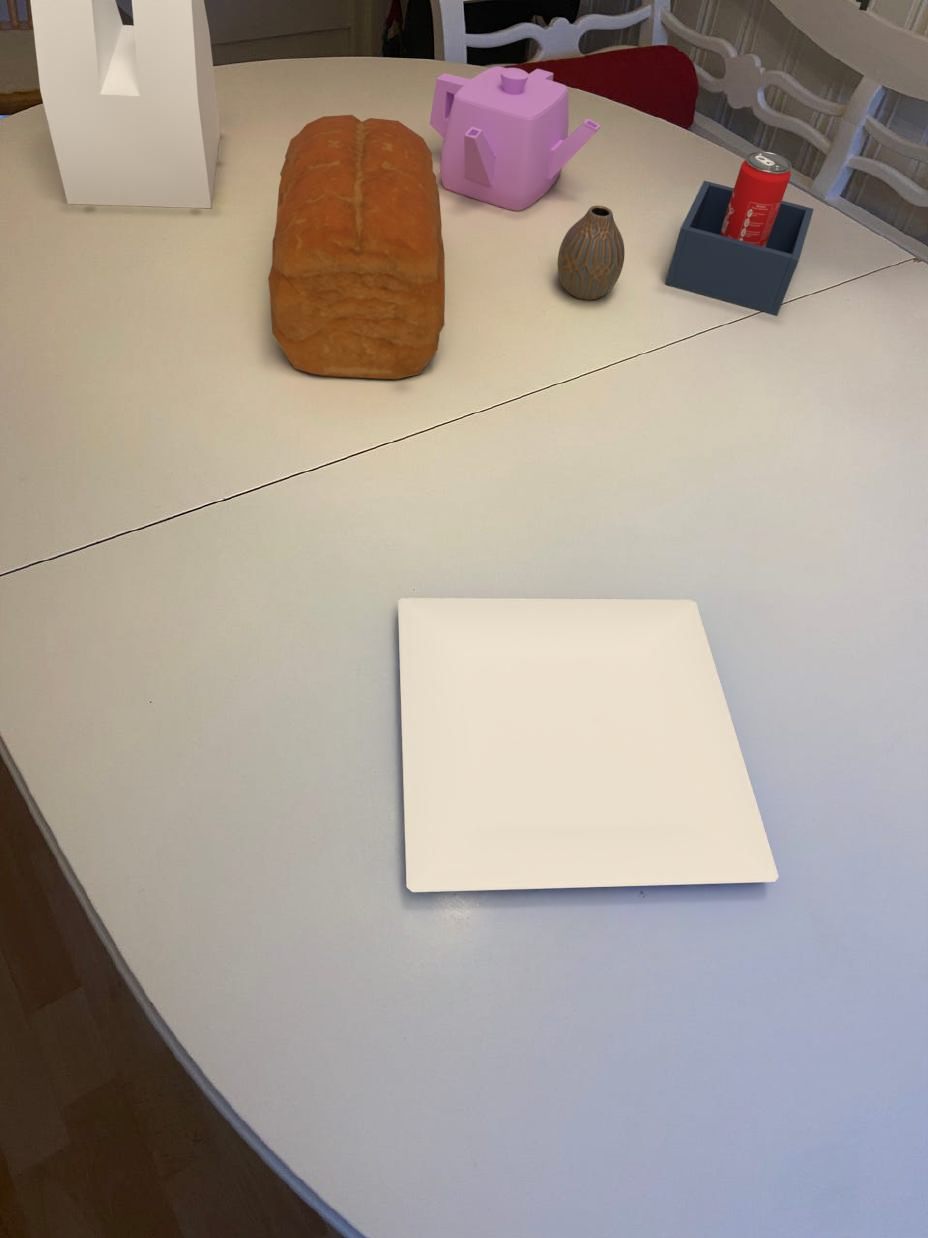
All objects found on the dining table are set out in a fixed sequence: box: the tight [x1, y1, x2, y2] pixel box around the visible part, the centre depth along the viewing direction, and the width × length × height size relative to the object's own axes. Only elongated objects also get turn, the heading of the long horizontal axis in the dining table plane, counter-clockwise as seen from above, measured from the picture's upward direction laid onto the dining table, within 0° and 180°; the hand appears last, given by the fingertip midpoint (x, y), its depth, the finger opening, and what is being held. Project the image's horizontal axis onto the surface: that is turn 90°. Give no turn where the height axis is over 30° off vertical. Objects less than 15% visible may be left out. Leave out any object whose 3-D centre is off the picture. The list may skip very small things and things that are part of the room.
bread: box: [267, 114, 446, 380], centre depth 89 cm, size 16×27×16 cm, turn 3°
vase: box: [556, 205, 626, 301], centre depth 97 cm, size 7×7×9 cm
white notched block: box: [30, 0, 221, 209], centre depth 100 cm, size 19×15×25 cm
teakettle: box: [429, 65, 601, 212], centre depth 110 cm, size 17×17×12 cm
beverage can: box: [719, 151, 792, 247], centre depth 100 cm, size 5×5×12 cm
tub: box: [664, 180, 814, 316], centre depth 103 cm, size 13×13×6 cm
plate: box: [397, 597, 780, 893], centre depth 62 cm, size 22×22×2 cm
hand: (908, 16), depth 87 cm, fingers open, 8 cm apart
